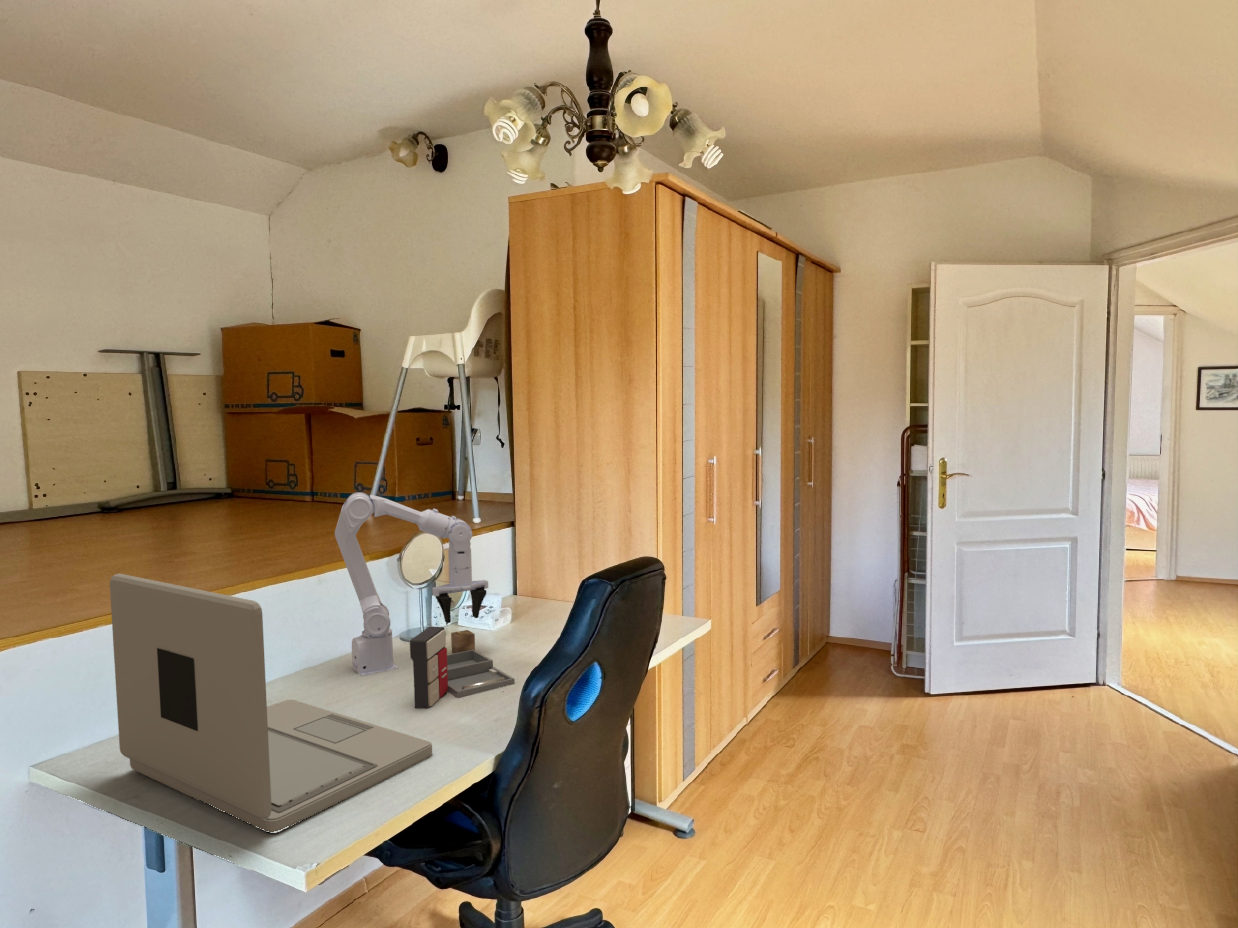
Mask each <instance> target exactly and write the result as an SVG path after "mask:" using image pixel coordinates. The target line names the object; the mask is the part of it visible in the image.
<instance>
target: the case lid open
mask: <svg viewBox="0 0 1238 928" xmlns="http://www.w3.org/2000/svg"><path fill="white" fill-rule="evenodd" d="M501 677H504V679H505V680H503V681H499V682H494V683H490V684H486V685H481V686H477V687H473V688H468V689H464V690H462V686H466V685H471V684H475V683H479V682H484V681H488V680H492V679H497V678H501ZM515 684H516V683H515V678H514V677H512V676H510V675H509V674H507V673H505V672H503V671H501V670H500V669H498V668H496V667H495V666H493V667H492V669H489V672H485V673H481V674H476V675H472V676H467V677H463V678H458V679H454V680H449V681H448V691H447V692H448V693H450V694H451V695H452V696H454V697H455V698H457V699H460V698H464V697H467V696H473V695H476V694H480V693H483V692H488V691H492V690H495V689H500V688H503V686H504V687H507V685H508V686H511V685H515ZM499 687H500V688H499Z"/></svg>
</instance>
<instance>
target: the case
mask: <svg viewBox="0 0 1238 928" xmlns="http://www.w3.org/2000/svg"><path fill="white" fill-rule="evenodd" d="M448 654H449V653H448ZM448 654H447V671H448V681H449V680H454V679H458V678H463V677H467V676H472V675H476V674H481V673H485V672H489V669H492V667H494V661H493V659H491V658H489V657H488V656H486V655H484V654H483V653H481V652H479V651H477V650H476V649H475V650H469V651H464V652H459V653H454V654H452V653H450V654H449V655H448Z"/></svg>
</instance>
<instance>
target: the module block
mask: <svg viewBox="0 0 1238 928" xmlns="http://www.w3.org/2000/svg"><path fill="white" fill-rule="evenodd" d="M475 634H476V633H474V632H472V631H470V629H469V630H468V629H465V630H460V631H459V630H458V631H454V632H450V635H451V639H450V640H451V641H450V642H451V654H454V653H459V652H464V651H469V650H475V651H476V639H475V637H476V635H475Z"/></svg>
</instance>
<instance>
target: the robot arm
mask: <svg viewBox="0 0 1238 928" xmlns="http://www.w3.org/2000/svg"><path fill="white" fill-rule="evenodd" d="M372 515H373V517H375V518H377V517H382V516H387V515H388V516H390V517H393V518H397V519H400V520H402V521H406V522H410V523H413V524H416V525H417V527H418V529H419V531H421V532H423V533H426V534H429V535H432V536H434V537H438V538H439V539H448V551H447V552H448V554H447V555H448V557H447V558H448V580H449V581H448V583H446V584H443V585H440V586H434V587H432V596H434V597H435V599H436V600H437V602H438V604H439V607H440V609H441V612H442V614H443V619H444V622H445V623H447V624H450V623H451V622H452V620H451V617H452V616H451V615H452V613H451V608H452V607H451V606H452V599H453V598H452V596H450V594H455V593H462V592H469V593H470V597H471V611H472V612H471V615H472V617H473V618H475V619H478V618H479V617H480V615H479V614H480V611H481V607H482V604H483V601H484V599H485V597H486V595H487V589H489V581H488V580H487V579H481V580H473V575H472V574H473V573H472V571H473V570H472V548H471V543H472V542H471V540H472V539H473V534H474V533H473V532H472V528H471V526H470V525H469V524H468V523H467V522H466V521H464V520H463V519H461V518H457V516H454V515H451V516H448V515H446V514H443V513H440V512H439V510H438V509H436V508H432V509H430V508H428V509H426V510H423V511H419V510H416V509H414V508H411V507H408V506H406V505H404V504H401V503H400V502H399V503H398V502H396V501H393V500H391V499H388V498H385V497H382V496H377V495H373V494H370V495H369V494H367V493H365V492H361V491H360V492H359V491H358V492H353V493H352V494H351V495H349V496H348V497H347V499H346V500H345V502H344V503H343V505H342V507H341V510H340V513H339V516H338V520H337V523H336V527H335V530H334V537H335V540H336V543H337V545H338V548H339V550H340V553H341V556H342V559H343V560H344V561H343V562H344V564H345V567H346V569H347V572H348V575H349V578H350V580H351V583H352V585H353V588H354V590H355V594H356V597H357V599H358V601H359V605H360V608H361V612H362V618H363V623H362V624H363V625H362V626H363V631H362V632H361V635H359V636H357V637H354V638H352V640H351V658H352V659H351V660H352V661H351V662H352V665H351V670H354V671H355V672H356V673H357V674H358V675H359V676H367V675H373V674H377V673H382V672H387V671H391V670H392V671H394V670H396V669H397V670H398V669H399V668H400V667H399V666H398V665H397V664H395V663H394V650H393V649H394V648H393V647H394V645H393V629H391V628H390V627H391V619H390V612H389V611H390V610H389V609H388V608H387V606H386V605H385V604H384V603H382V601H381V598H380V596H379V594H378V592H377V589H376V586H375V584H374V582H373V578H372V576H371V572H370V570H369V568H368V565H367V562H366V559H365V557H364V554H363V551H362V548H361V546H360V542H359V540H358V537H357V533H358V532H359V530H360V529H361V527H362V525H363V524H364V523H365V522H366V521H368V520H369V518H370V517H372Z"/></svg>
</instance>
